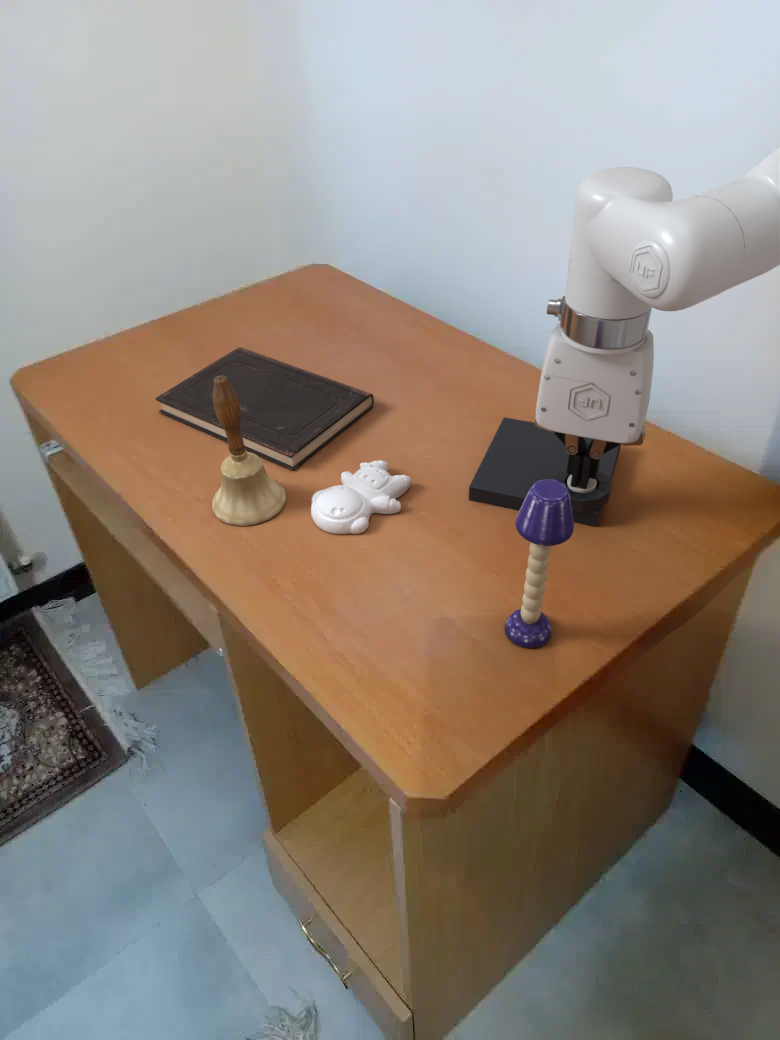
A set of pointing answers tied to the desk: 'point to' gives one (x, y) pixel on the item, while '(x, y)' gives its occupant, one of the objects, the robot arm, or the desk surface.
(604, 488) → the scale
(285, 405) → the hardcover book
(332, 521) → the white flat figure
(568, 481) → the button
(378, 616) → the desk surface
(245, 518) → the hand bell
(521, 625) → the toy lamp
